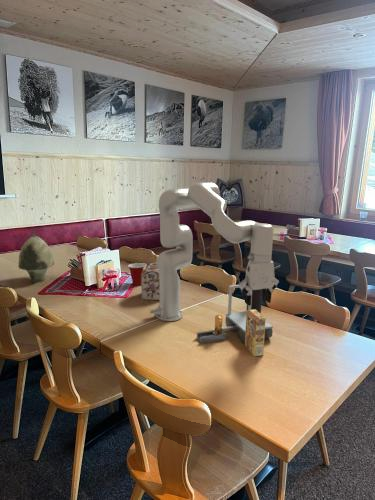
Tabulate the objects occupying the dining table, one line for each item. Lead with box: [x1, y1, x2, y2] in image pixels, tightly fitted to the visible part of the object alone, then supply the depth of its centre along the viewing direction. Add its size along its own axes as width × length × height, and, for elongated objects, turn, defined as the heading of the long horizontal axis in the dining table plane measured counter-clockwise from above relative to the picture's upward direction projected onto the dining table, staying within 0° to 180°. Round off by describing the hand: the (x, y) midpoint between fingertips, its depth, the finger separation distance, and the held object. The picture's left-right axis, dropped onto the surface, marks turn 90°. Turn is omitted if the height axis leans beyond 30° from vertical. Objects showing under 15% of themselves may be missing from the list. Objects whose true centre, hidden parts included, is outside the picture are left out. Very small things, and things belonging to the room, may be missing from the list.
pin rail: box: [196, 329, 227, 344], centre depth 151 cm, size 11×5×2 cm, turn 110°
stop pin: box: [213, 314, 238, 335], centre depth 153 cm, size 10×3×8 cm, turn 110°
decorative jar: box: [140, 262, 159, 301], centre depth 195 cm, size 12×12×18 cm
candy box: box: [244, 309, 267, 357], centre depth 141 cm, size 9×4×15 cm, turn 16°
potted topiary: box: [18, 231, 55, 283], centre depth 217 cm, size 19×20×30 cm
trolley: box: [225, 284, 274, 343], centre depth 155 cm, size 13×18×19 cm
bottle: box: [245, 289, 263, 315], centre depth 173 cm, size 7×7×20 cm
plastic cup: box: [127, 262, 148, 287], centre depth 215 cm, size 11×11×12 cm
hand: (257, 302), depth 138 cm, fingers open, 7 cm apart
